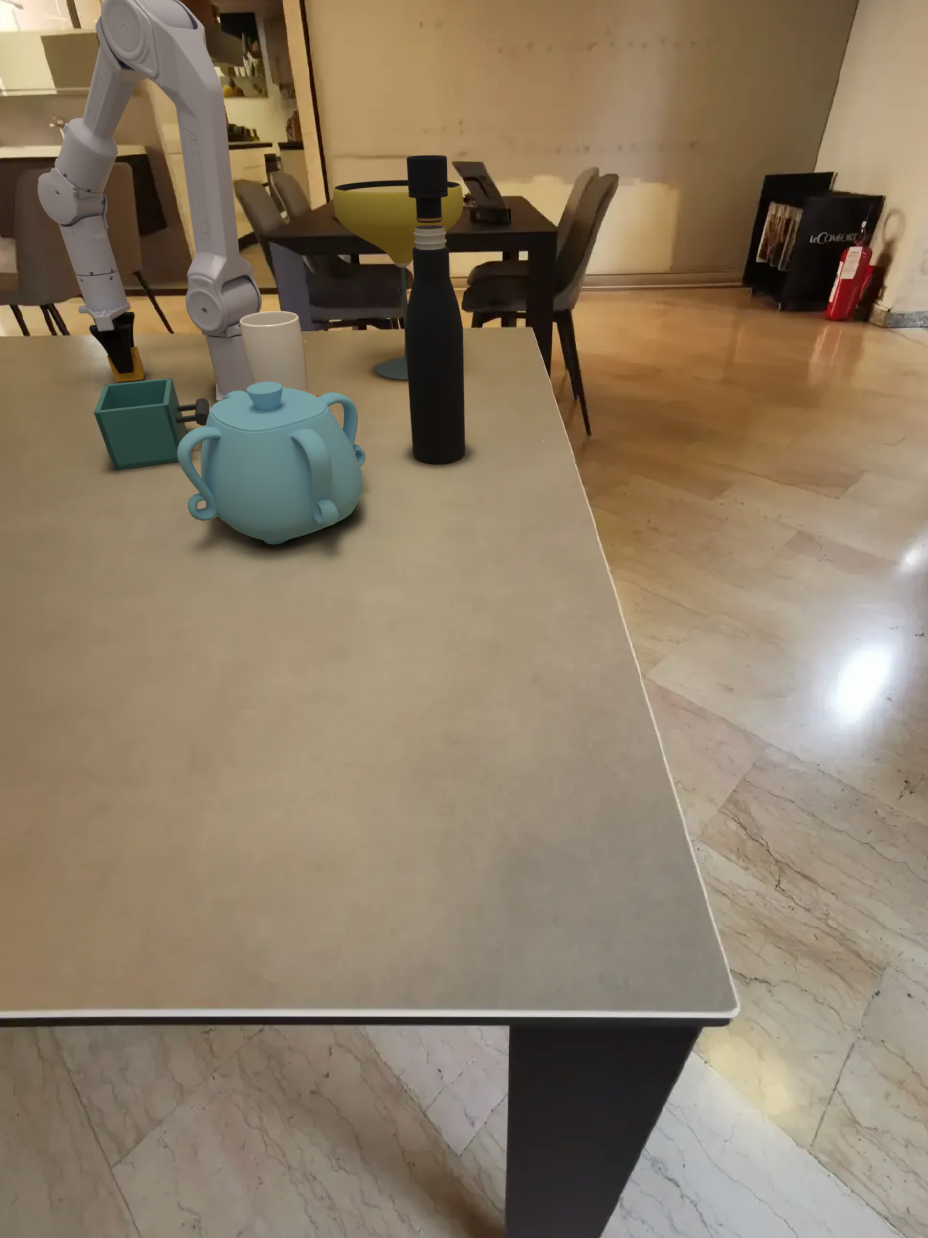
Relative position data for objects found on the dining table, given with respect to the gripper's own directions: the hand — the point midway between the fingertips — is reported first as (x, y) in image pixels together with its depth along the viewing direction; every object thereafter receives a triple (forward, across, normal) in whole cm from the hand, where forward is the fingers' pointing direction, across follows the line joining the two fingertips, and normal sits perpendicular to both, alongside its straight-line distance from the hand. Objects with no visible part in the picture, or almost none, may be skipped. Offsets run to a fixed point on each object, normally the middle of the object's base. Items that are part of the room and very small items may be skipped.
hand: (127, 368), depth 105 cm
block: (+1, 0, 0) cm, 1 cm away
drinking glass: (+2, +34, +22) cm, 41 cm away
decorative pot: (+2, +53, +20) cm, 57 cm away
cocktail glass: (+2, +10, +43) cm, 44 cm away
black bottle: (+2, +43, +39) cm, 58 cm away
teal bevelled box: (+2, +30, +7) cm, 31 cm away
